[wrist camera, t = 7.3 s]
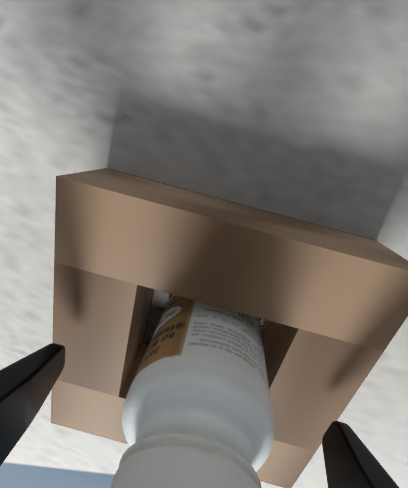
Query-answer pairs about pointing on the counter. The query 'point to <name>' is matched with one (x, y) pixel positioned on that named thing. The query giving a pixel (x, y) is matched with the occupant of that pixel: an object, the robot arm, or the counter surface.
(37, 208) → the counter surface
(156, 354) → the pill bottle
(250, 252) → the socket block
